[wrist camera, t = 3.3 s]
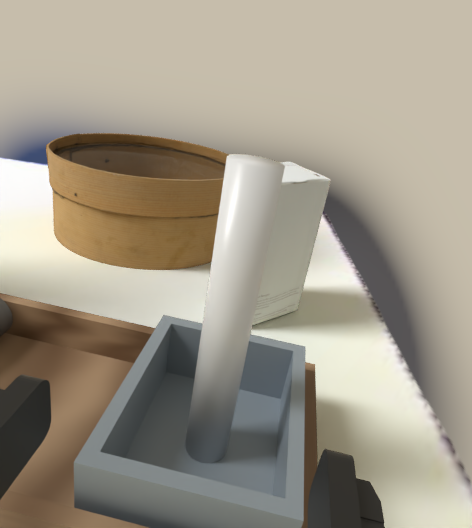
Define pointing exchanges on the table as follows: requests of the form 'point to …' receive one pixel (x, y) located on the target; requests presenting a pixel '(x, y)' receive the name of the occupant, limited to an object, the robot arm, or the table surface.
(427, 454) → the table surface
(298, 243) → the skincare box
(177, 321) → the tray with upright post
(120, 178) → the steamer basket
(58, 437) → the bay
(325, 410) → the table surface
